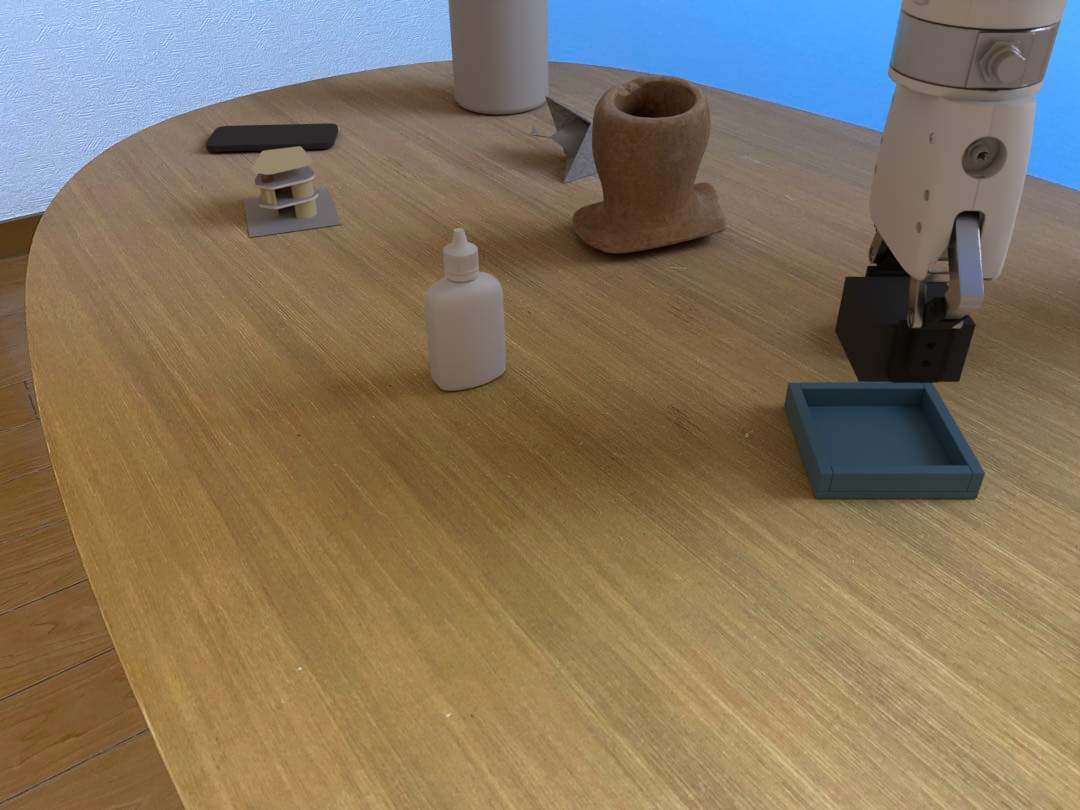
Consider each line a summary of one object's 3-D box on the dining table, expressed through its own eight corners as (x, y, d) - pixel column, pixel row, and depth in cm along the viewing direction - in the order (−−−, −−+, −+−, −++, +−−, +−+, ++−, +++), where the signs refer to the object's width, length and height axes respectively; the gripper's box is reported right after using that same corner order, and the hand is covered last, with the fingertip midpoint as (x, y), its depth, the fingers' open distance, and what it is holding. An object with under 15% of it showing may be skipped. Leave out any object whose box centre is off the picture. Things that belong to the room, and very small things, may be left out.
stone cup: (605, 278, 84) (610, 111, 75) (560, 226, 93) (559, 71, 84) (755, 252, 88) (776, 90, 79) (698, 204, 97) (711, 54, 88)
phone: (331, 143, 111) (203, 146, 110) (332, 150, 111) (204, 153, 111) (338, 122, 117) (217, 125, 116) (339, 129, 117) (218, 132, 117)
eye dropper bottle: (435, 361, 73) (421, 217, 66) (507, 360, 73) (501, 216, 66) (429, 393, 69) (414, 244, 62) (505, 392, 69) (498, 243, 62)
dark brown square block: (927, 331, 61) (941, 276, 59) (959, 382, 56) (976, 324, 54) (834, 331, 61) (845, 276, 59) (858, 382, 56) (871, 324, 54)
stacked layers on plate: (243, 199, 100) (232, 149, 96) (327, 188, 102) (320, 138, 99) (249, 237, 92) (238, 184, 89) (341, 224, 94) (333, 172, 91)
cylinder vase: (567, 99, 126) (567, -112, 112) (501, 123, 119) (492, -100, 104) (502, 82, 133) (494, -119, 119) (436, 103, 126) (419, -109, 111)
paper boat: (628, 170, 102) (552, 160, 98) (601, 205, 107) (528, 197, 103) (605, 84, 106) (532, 71, 102) (581, 121, 112) (510, 111, 108)
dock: (926, 406, 67) (932, 381, 66) (977, 499, 59) (985, 473, 58) (783, 406, 67) (787, 382, 66) (815, 499, 59) (820, 473, 58)
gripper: (1126, 102, 41) (1011, 433, 51) (981, 11, 55) (914, 285, 65) (953, 103, 41) (873, 432, 51) (853, 12, 55) (806, 285, 66)
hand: (897, 347), depth 58 cm, fingers closed on dark brown square block, 6 cm apart
